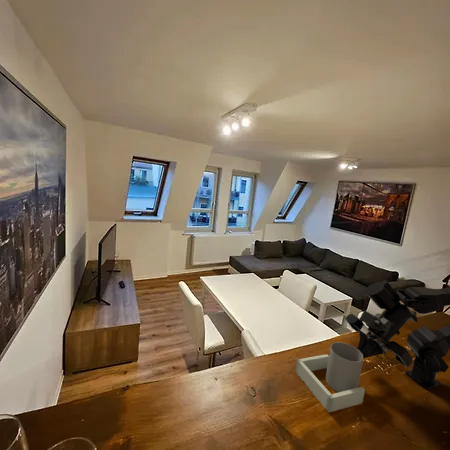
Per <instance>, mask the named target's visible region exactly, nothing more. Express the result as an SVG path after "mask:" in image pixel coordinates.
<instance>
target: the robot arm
mask: <svg viewBox="0 0 450 450" xmlns="http://www.w3.org/2000/svg"><path fill="white" fill-rule="evenodd" d="M365 294H366V295H367V297H369V299H371V301H372V302H373V303H374V304H375V305H376V306H377V308H379V309H380V310H383V311H382V313H379V312H377V313H375V314H372V313H371V312H368V311H366V310H363V312H362V314H361V316H360V317H358V316H356V315H355V314H353V313H349V314H347V315H346V316H345V318H344V319H345V321H346V322H347V324H348V325H349V326H350V327H351V329H353V330H354V331H355V332H356V333H357V334H359V342H358V345H357V348H356V349H358V350H359V351H360V352H361V353H362V354H363V360H364V359H366V358H370V357H374V356H379V355H383V356H387V353H388V351H389V352H391V353H392V354H393V355H395V360H396V361H397V362H398V363H400V365H402V366H403V367H405V368H409V367H410V365H411V364H412V363H413V364H412V365H411V366H412V368H411V369H410V370H406V371H405V375H407V376H408V377H410V378H411V379H412V380H414V381H415V382H417V383H418V384H419V385H420V386H422V387H424V388H425V389H427V390H428V389H429V390H430V389H433V388H437V387H440V386H441V385H442V383H441V382H440V381H439V380H437V377H438V373H446V372H447V370H448V369H449V368H450V367H449V365H448V363H447V362H446V360H444V359H443V358H444V357H446V356H447V355H448V353H449V351H450V324H449V325H446V326H443V327H442V328H439V329H430V328H429V327H427V326H426V325H424V326H421V327H419V328H418V329H417V328H416V329H413V330H411V332H410V333H409V334H408V335H407V338H406V344H407V345H408V347H409V348H410V351H411V352H412V353H413V354H414V355H415V356H414V359H413V358H412V356H411V354H410V353H409V351H408V350H407V348H405V346H402V345H401V344H400V343H398V342H396V341H395V340H392V339H393V337H394V336H395V335H397V336H399V335H400V334H401V332H400V329H401V328H402V327H404V325H405V324H406V323H407V322H408V321H413V322H416V323H418V321H419V320H418V316H417V313H418V314H420V315H423V314H424V315H427V314H430V313H434V312H437V311H439V310H441V309H442V308H443V307H448V306H450V287H445V288H444V287H443V288H430V287H425V286H422V287H421V286H410V287H407V288H405V289H393V287H392V285H391V284H390V283H389V282H388V281H387V280H385V279H384V280H383V281H379V282H378V281H377V282H374V283H371V284H370V285H368V286H367V288H366V289H365ZM411 309H412V310H411Z"/></svg>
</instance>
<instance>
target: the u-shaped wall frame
mask: <svg viewBox="0 0 450 450" xmlns="http://www.w3.org/2000/svg"><path fill="white" fill-rule="evenodd" d="M328 360H329V355H328V354H321V355H315V356H310V357H304V358H299V359H296V365H295V371H296V372H295V373H296V374H297V376H298V377H299V376H300V377H299V378H300V380H301V381H302V382H303V381H304V382H305V383H304V382H303V383H304V384H305V385H306V387H307V388H308V390H310V391H311V393H312V394H313V396H314V397H315V398H316V399H317V400H318V401H319V403H320V404H321V405H322V406H323V408H324V409H325V410H326V411H327V413H331V412H332V413H333V412H337V411H339V410H343V409H347V408H350V407H354V406H357V405H360V404H363V402H364V397H365V391H366V389H365V388H364V387H363V386H358V388H355V389H351V390H347V391H343V392H336V393H335V392H334V393H331V392H330V391H329V390H328V388H326V387H325V385H324V384H323V383H322V382H321V381H320V380H319V379H318V378H317V377H316V375H315V374H314V372H313V371H318V370H324V369H327V366H328Z"/></svg>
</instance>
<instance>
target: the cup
mask: <svg viewBox="0 0 450 450" xmlns="http://www.w3.org/2000/svg"><path fill="white" fill-rule="evenodd" d="M328 356H329V360H328V366H327V368H326V373H325V381H326V383H327V385H328V386H329V387H330V388H331V389H332V390H334V391H335V392H336V393H339V392H343V391H347V390H351V389H355V388H359V383H360V378H361V373H362V369H363V363H364V359H363V354H362V353H361V352H360V351H359V350H358V349H357V348H356V347H355V346H354V345H351V344H349V343H345V342H341V341H340V342H339V341H338V342H337V341H336V342H333V343H331V344H330V349H329V355H328Z"/></svg>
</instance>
